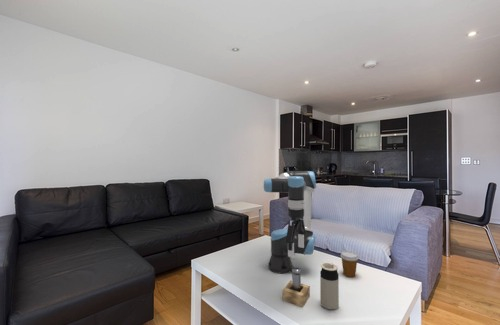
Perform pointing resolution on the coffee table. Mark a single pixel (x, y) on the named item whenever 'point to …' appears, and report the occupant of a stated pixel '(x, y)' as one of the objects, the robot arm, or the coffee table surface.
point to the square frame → (296, 294)
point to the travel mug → (329, 286)
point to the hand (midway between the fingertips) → (296, 251)
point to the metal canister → (296, 279)
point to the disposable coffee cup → (349, 263)
